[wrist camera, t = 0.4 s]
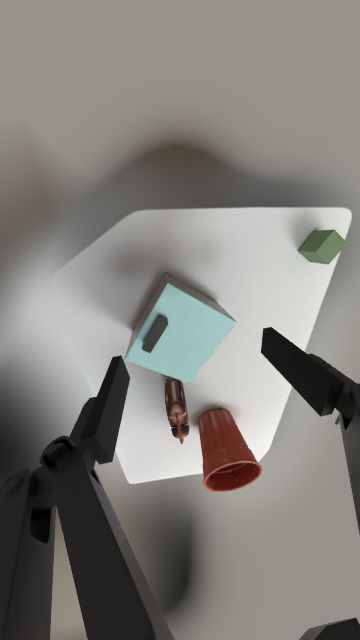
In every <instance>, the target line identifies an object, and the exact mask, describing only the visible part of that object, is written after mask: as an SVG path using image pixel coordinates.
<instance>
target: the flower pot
mask: <svg viewBox="0 0 360 640" xmlns="http://www.w3.org/2000/svg"><path fill="white" fill-rule="evenodd" d="M198 425H199V433H200V441H201V448H202V456H203V473H204V480H203V486H204V488H205V489H207V490H209V491H213V492H226V491H232V490H236V489H239V488H242V487H245V486H247V485H249V484H251V483H252V482H254V481H255V480H256V479H258V478H259V477H260V475H261V474H262V471H263V468H262V466H261V465H260V464H259V463H258V462H257V461H256V459H255V457H254V455H253V453H252V451H251V450H250V449H249V448H248V446H247V444H246V442H245V440H244V438H243V436H242V435H241V433H240V431H239V429H238V427H237V425H236V423H235V421H234V419H233V417H232V415H231V414H230V412H229V411H227V410H224V409H221V410H217V409H214V410H210V411H208V412H206V413H205V414H203V415H202V416H201V417H200V419H199V422H198Z"/></svg>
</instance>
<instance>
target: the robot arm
mask: <svg viewBox="0 0 360 640" xmlns="http://www.w3.org/2000/svg"><path fill="white" fill-rule="evenodd" d="M261 353H262V354H263V355H264V356H265V357H266V358H267V359H268V361H269V362H270V363H271V364H272V365H273V366H274V367H275V368H276V369H277V370H278V371H279V372H280V373H281V375H282V376H283V377H284V378H285V379H286V380H287V381H288V382H289V383H290V384H291V385H292V386H293V387H294V388H295V390H297V392H298V393H299V394H300V395H301V396H302V397H303V398H304V399H305V400H306V401H307V402H308V404H310V406H311V407H312V408H313V409H314V410H315V411H316V412H317V413H318V414H319V415H320V416H325V415H329V414H332V413H333V410H334V408H336V409H337V410H338V411H339V412H340V413H339V415H338V417H337V419H336V423H335V424H338V423H339V422H340V426H341V432H342V437H343V443H344V448H345V454H346V460H347V466H348V471H349V477H350V483H351V488H352V494H353V499H354V505H355V510H356V516H357V522H358V528H359V533H360V384H357V383H355V382H354V381H352V380H351V379H350V378H348V377H347V376H345V375H344V374H342V373H341V372H340V371H338V370H337V369H335V368H333V367H332V366H331V365H330V364H328V363H327V362H326V361H324V360H323V359H321V358H320V357H318V356H315V355H313V354H306V353H305V352H304V351H302V350H301V349H300V348H298V347H297V346H296V345H294V344H293V343H292V342H290V341H289V340H288V339H286V338H285V337H284V336H282V335H281V334H280V333H278V332H277V331H276V330H274V329H273V328H272V327H269V328H264V329H263V337H262V347H261ZM129 381H130V377H129V374H128V371H127V369H126V366H125V364H124V361H123V359H122V356H116V357H113V358H112V360H111V363H110V365H109V368H108V370H107V373H106V375H105V378H104V380H103V383H102V385H101V388H100V390H99V393H98V395H97V397H93V398H89V400H88V401H87V402H86V403H85V405H84V406H83V408H82V410H81V414H80V415H79V417H78V420H77V422H76V424H75V426H74V428H73V430H72V432H71V435H70V437H68V436H61V437H58V438H57V439H55V440H54V441H52V442H51V443H50V444H49V445H48V446H47V447H46V448H45V450H44V451H43V453H42V455H41V457H40V464H42V465H43V466H42V467H39V468H38V469H36V470H34V471H30V470H29V469H28V468H25V469H21V470H19V471H17V472H15V473H14V474H13V475H11V476H10V477H9V478H8V479H7V480H6V481H5V482H4V483H3V485H2V486H1V488H0V640H50V625H51V604H52V603H51V602H52V582H53V561H54V539H55V515H56V505H57V510H58V514H59V518H60V522H61V527H62V531H63V535H64V540H65V544H66V548H67V552H68V556H69V561H70V565H71V570H72V574H73V578H74V582H75V587H76V591H77V595H78V600H79V604H80V608H81V612H82V617H83V621H84V625H85V629H86V634H87V638H88V640H175V639H174V637H173V635H172V634H171V632H170V630H169V628H168V626H167V624H166V622H165V620H164V617H163V615H162V613H161V611H160V609H159V606H158V604H157V602H156V600H155V598H154V596H153V594H152V592H151V589H150V587H149V585H148V583H147V581H146V579H145V576H144V574H143V572H142V570H141V568H140V566H139V563H138V561H137V559H136V557H135V555H134V553H133V551H132V548H131V546H130V544H129V542H128V540H127V538H126V536H125V533H124V531H123V529H122V527H121V525H120V523H119V520H118V518H117V516H116V514H115V512H114V510H113V508H112V505H111V503H110V501H109V499H108V497H107V495H106V492H105V490H104V488H103V486H102V484H101V482H100V480H99V477H98V475H97V473H96V471H95V469H94V465H95V461H97V462H98V463H99V464H104V463H109V462H112V461H113V456H114V452H115V447H116V442H117V437H118V433H119V428H120V423H121V419H122V414H123V409H124V404H125V400H126V395H127V390H128V385H129ZM299 640H360V624H359V623H358V621H357V619H356V618H352V619H347V620H342V621H337V622H332V623H328V624H325V625H321V626H317V627H314V628H310V629H308V630H307V631H306V632H305V633H304V635H303V636H302V637H301V638H300V639H299Z"/></svg>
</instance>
